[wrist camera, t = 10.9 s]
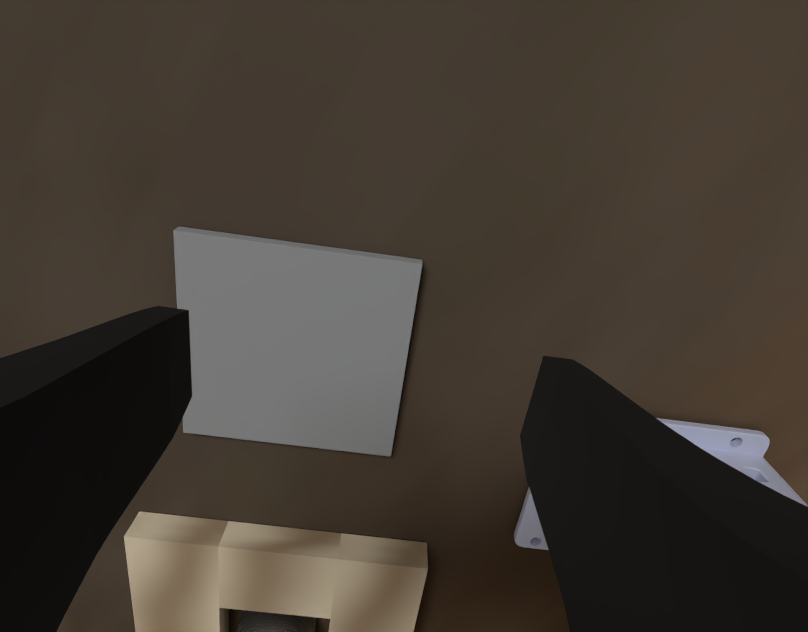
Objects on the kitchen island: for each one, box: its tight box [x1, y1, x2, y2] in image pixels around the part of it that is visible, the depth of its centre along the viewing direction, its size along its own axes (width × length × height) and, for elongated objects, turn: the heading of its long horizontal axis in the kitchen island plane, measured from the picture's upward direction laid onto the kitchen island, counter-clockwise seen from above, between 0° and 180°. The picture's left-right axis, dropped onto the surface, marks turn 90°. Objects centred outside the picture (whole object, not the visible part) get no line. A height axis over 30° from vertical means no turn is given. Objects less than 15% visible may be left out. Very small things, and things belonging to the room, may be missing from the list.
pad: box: [173, 227, 422, 457], centre depth 21 cm, size 9×9×1 cm
